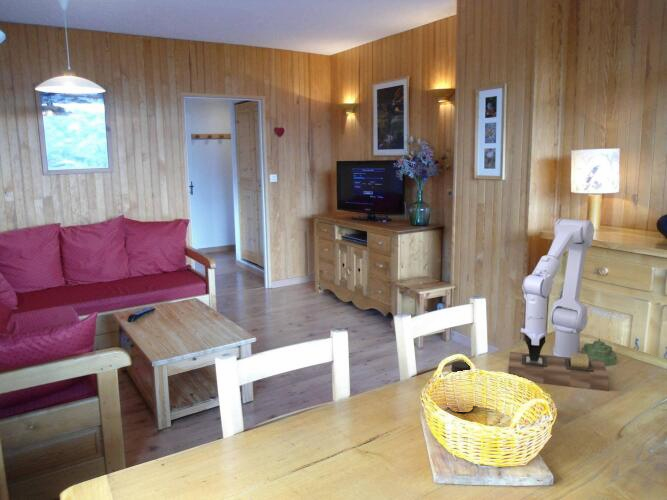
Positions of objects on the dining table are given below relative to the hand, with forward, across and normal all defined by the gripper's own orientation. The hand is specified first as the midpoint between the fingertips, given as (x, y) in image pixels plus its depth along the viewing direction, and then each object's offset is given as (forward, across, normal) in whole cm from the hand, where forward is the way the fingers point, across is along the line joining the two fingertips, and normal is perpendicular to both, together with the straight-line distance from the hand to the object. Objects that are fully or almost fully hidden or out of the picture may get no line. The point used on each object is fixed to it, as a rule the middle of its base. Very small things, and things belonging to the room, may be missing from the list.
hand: (534, 360), depth 155 cm
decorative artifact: (+5, -17, +19) cm, 26 cm away
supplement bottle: (+5, +27, -18) cm, 33 cm away
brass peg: (+2, 0, +12) cm, 12 cm away
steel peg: (+4, 0, 0) cm, 4 cm away
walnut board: (+4, 0, +6) cm, 7 cm away
